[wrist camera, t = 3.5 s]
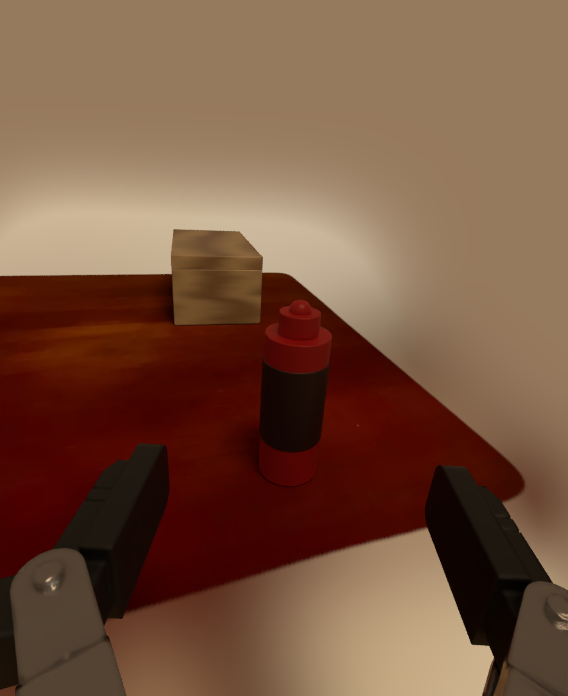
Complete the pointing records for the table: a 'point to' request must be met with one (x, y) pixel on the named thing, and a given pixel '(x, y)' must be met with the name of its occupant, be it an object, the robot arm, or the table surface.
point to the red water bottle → (293, 394)
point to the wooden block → (215, 278)
